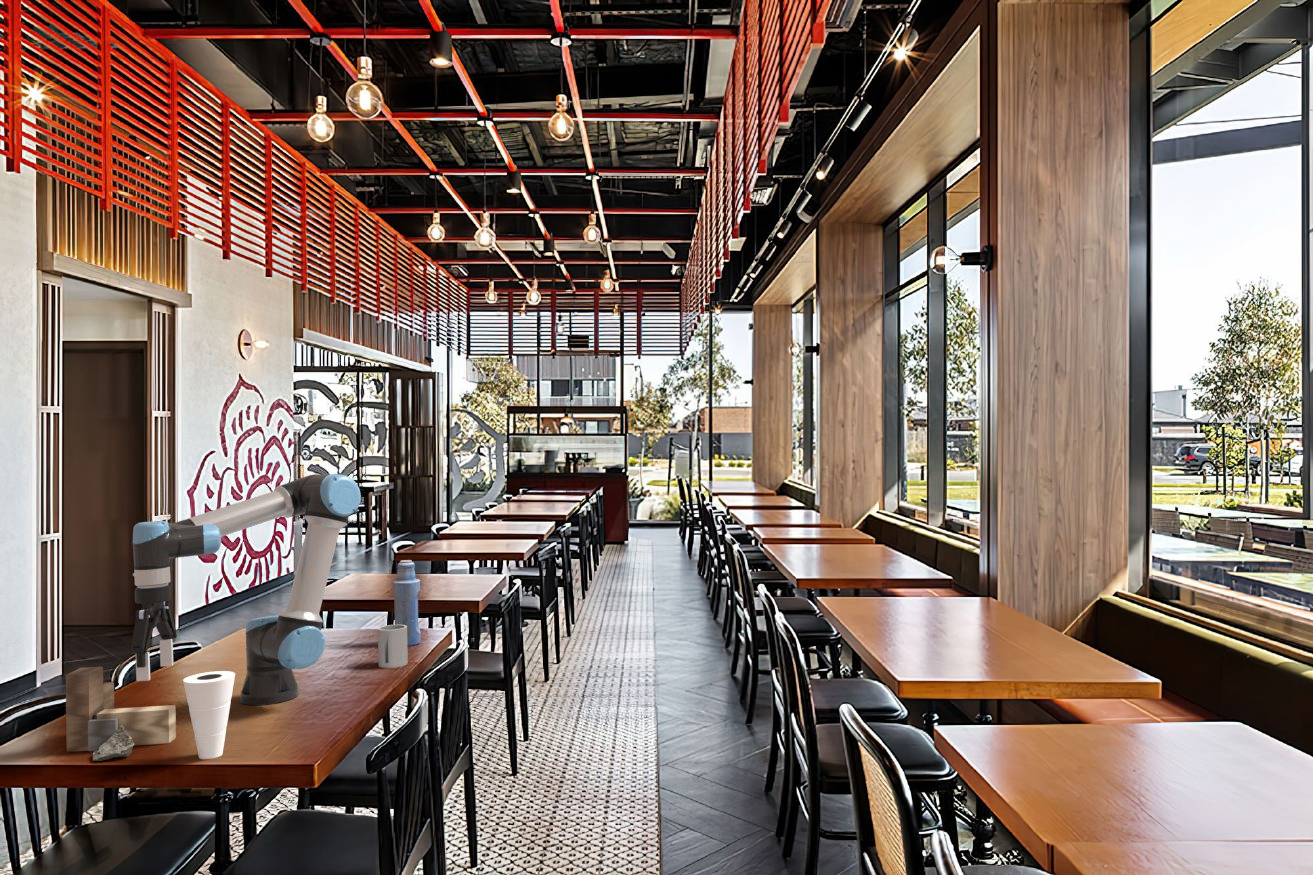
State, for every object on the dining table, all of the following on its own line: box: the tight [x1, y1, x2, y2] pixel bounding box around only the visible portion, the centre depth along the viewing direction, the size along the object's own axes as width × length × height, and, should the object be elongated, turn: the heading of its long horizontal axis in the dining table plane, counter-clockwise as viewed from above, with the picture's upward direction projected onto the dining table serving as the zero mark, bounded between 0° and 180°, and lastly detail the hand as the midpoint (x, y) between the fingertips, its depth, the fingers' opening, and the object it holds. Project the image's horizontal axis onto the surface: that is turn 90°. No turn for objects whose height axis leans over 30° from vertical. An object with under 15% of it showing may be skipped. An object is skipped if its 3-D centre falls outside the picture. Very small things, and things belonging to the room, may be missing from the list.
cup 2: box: [182, 670, 236, 760], centre depth 200 cm, size 11×11×18 cm
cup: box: [377, 624, 409, 669], centre depth 284 cm, size 9×9×12 cm
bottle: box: [391, 559, 422, 647], centre depth 314 cm, size 10×10×30 cm
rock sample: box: [92, 725, 135, 762], centre depth 201 cm, size 10×8×9 cm
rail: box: [94, 704, 177, 746], centre depth 211 cm, size 17×4×8 cm, turn 98°
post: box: [65, 666, 118, 753], centre depth 213 cm, size 11×17×18 cm, turn 9°
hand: (155, 673), depth 212 cm, fingers open, 13 cm apart
